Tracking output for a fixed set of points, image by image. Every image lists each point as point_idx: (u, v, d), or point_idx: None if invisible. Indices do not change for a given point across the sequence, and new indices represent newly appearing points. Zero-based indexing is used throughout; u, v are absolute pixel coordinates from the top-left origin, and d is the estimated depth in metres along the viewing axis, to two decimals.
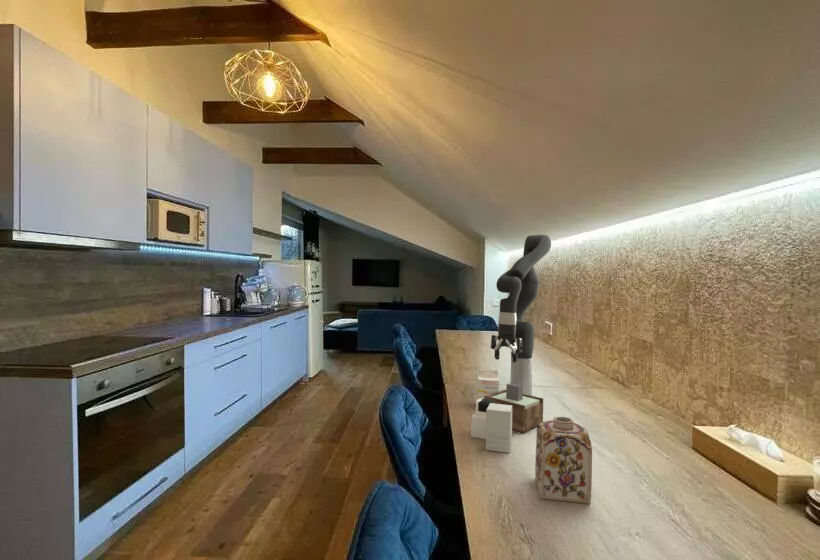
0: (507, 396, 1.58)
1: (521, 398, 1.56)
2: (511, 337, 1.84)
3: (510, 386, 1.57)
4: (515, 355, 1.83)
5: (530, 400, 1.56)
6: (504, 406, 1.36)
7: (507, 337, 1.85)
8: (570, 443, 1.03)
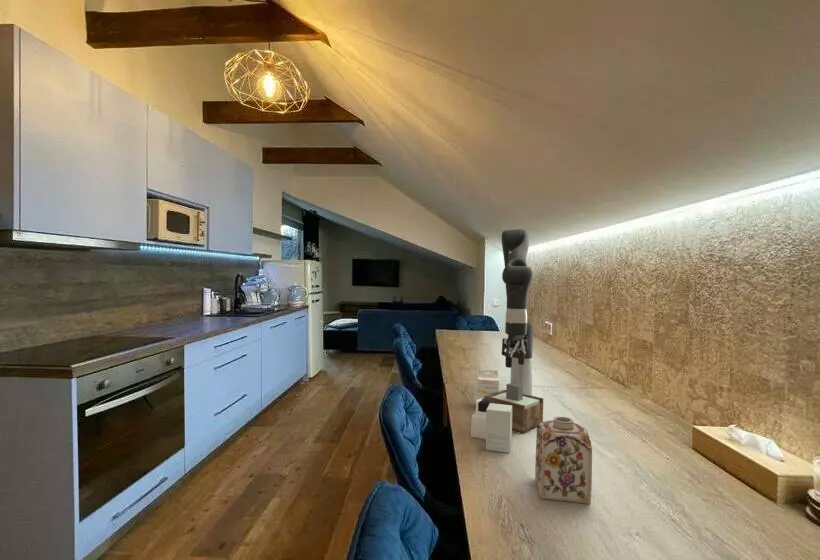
0: (507, 396, 1.58)
1: (521, 398, 1.56)
2: (522, 336, 1.59)
3: (510, 386, 1.57)
4: None
5: (530, 400, 1.56)
6: (504, 406, 1.36)
7: (520, 337, 1.58)
8: (570, 443, 1.03)
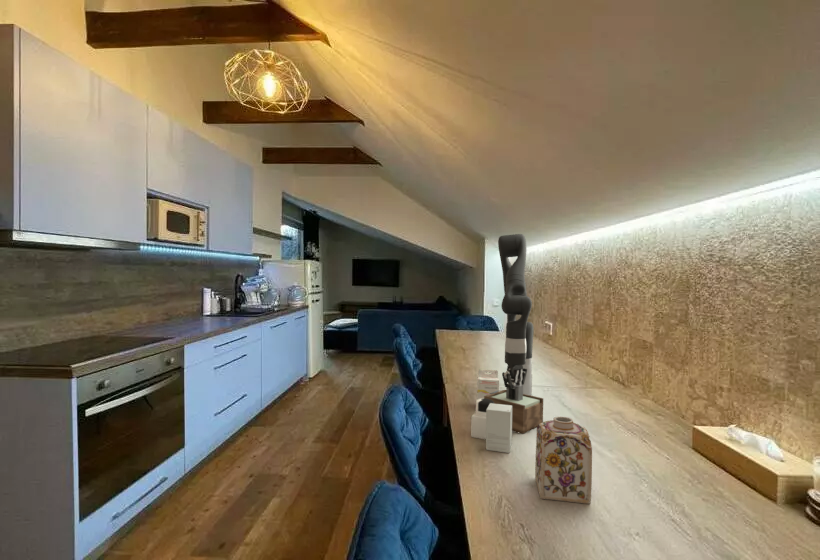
0: (507, 396, 1.58)
1: (521, 398, 1.56)
2: (522, 365, 1.59)
3: None
4: None
5: (530, 400, 1.56)
6: (504, 406, 1.36)
7: (519, 367, 1.58)
8: (570, 443, 1.03)
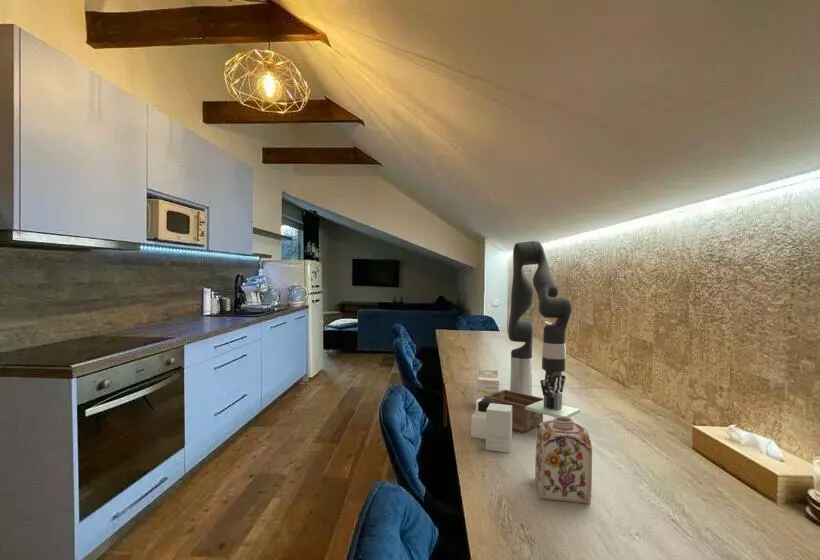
0: (544, 405, 1.48)
1: (560, 407, 1.46)
2: None
3: None
4: None
5: (570, 409, 1.45)
6: (504, 406, 1.36)
7: (558, 374, 1.47)
8: (570, 443, 1.03)
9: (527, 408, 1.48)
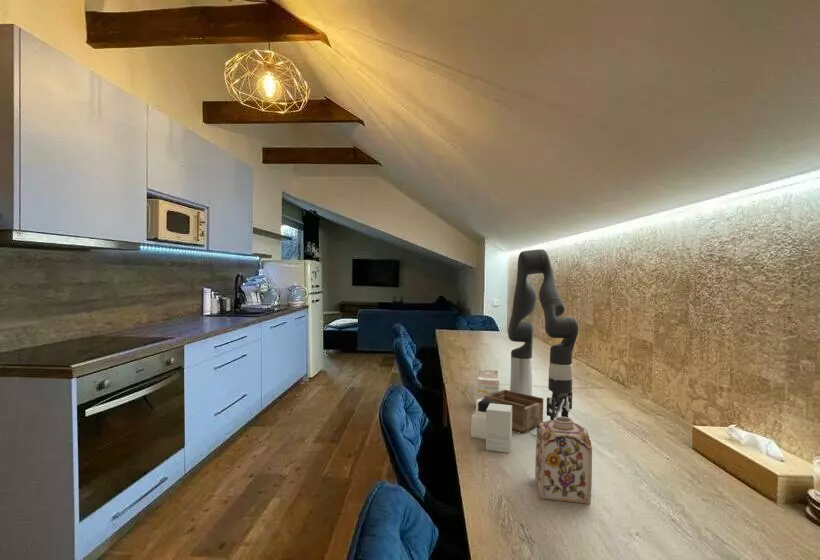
0: None
1: None
2: (567, 392, 1.47)
3: None
4: (567, 414, 1.49)
5: None
6: (504, 406, 1.36)
7: (564, 394, 1.46)
8: (570, 443, 1.03)
9: (533, 435, 1.46)
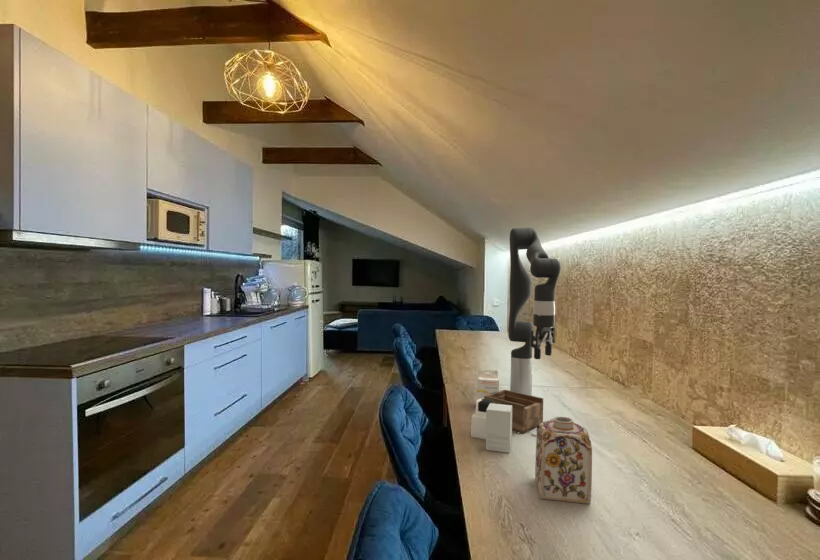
0: None
1: None
2: (550, 328, 1.61)
3: None
4: None
5: None
6: (504, 406, 1.36)
7: (547, 329, 1.59)
8: (570, 443, 1.03)
9: (533, 435, 1.46)
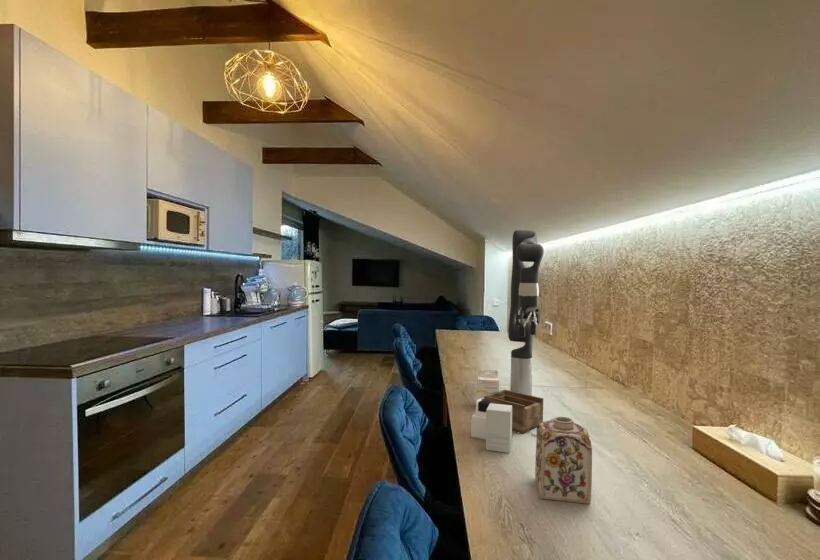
0: None
1: None
2: (534, 309, 1.73)
3: None
4: (535, 327, 1.75)
5: None
6: (504, 406, 1.36)
7: (532, 309, 1.72)
8: (570, 443, 1.03)
9: (533, 435, 1.46)
